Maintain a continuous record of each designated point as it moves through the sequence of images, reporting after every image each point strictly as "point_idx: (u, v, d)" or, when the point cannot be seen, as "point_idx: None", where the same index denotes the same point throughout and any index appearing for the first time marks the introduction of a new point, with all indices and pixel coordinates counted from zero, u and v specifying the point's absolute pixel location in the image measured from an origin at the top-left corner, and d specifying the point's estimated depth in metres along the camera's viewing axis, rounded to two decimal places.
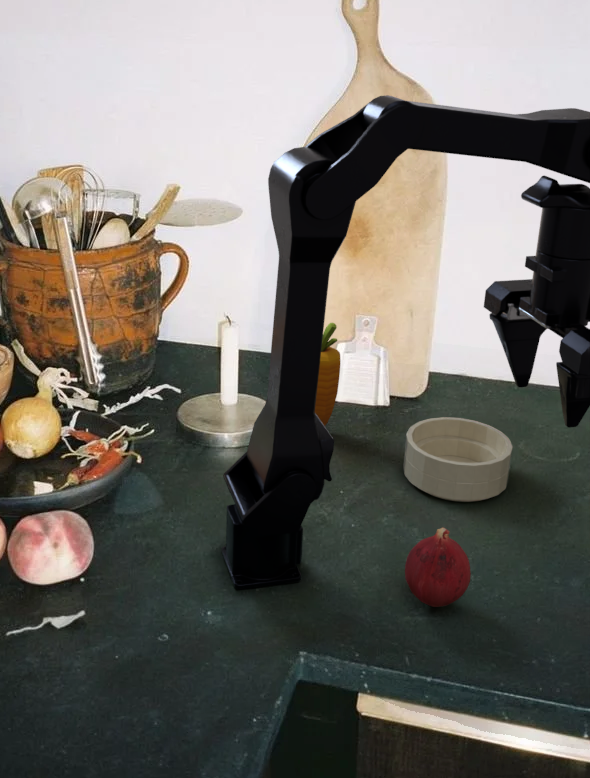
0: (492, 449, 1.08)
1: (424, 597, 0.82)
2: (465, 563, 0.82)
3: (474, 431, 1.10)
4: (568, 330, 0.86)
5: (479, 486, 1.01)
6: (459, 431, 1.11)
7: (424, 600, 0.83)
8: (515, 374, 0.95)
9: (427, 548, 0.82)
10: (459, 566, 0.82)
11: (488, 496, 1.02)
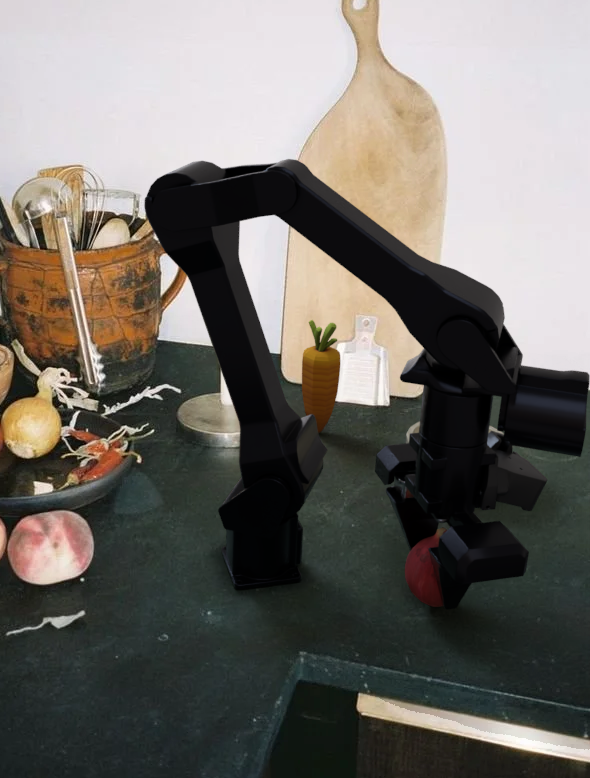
0: None
1: (424, 597, 0.82)
2: None
3: None
4: (452, 518, 0.79)
5: None
6: None
7: (424, 600, 0.83)
8: None
9: (427, 548, 0.82)
10: None
11: None
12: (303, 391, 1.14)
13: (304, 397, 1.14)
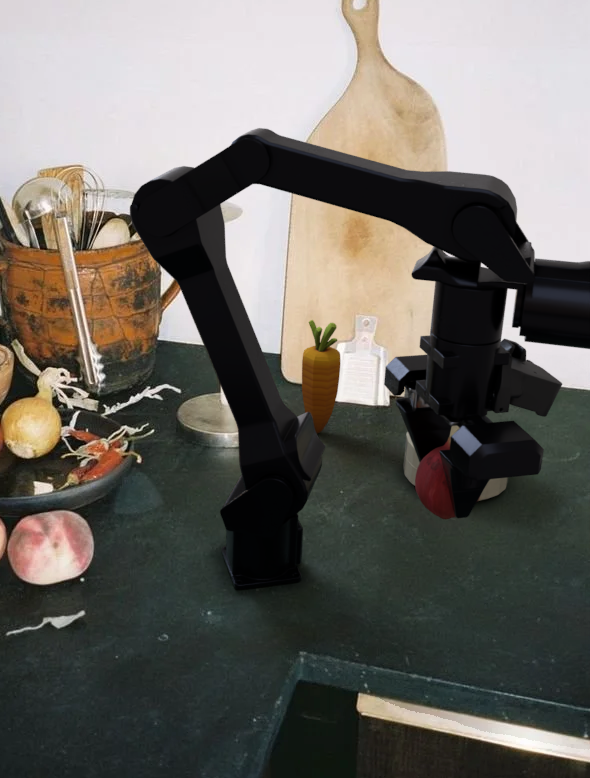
0: None
1: (435, 506, 0.80)
2: None
3: None
4: (464, 421, 0.77)
5: None
6: None
7: (435, 510, 0.80)
8: None
9: (438, 456, 0.80)
10: None
11: (488, 496, 1.02)
12: (303, 391, 1.14)
13: (304, 397, 1.14)
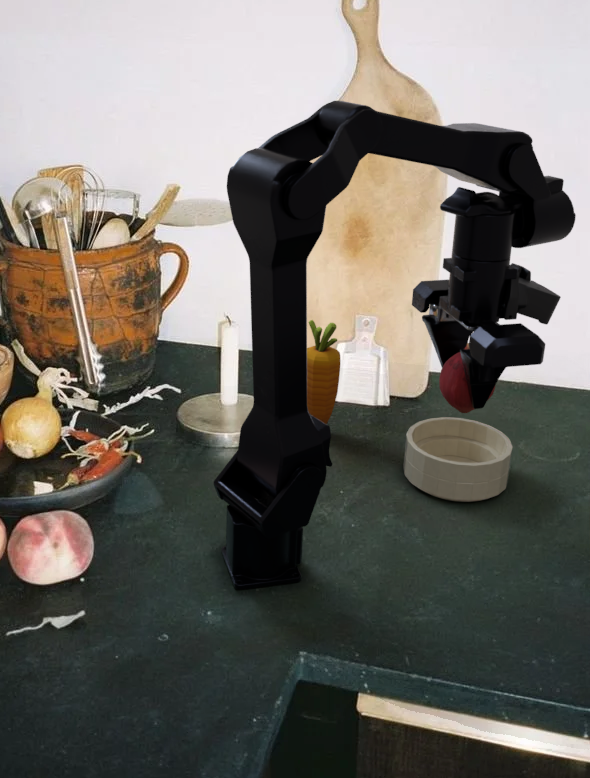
0: (492, 449, 1.08)
1: (456, 399, 0.97)
2: None
3: (474, 431, 1.10)
4: (480, 326, 0.94)
5: (479, 486, 1.01)
6: (459, 431, 1.11)
7: (456, 403, 0.97)
8: None
9: (458, 358, 0.97)
10: None
11: (488, 496, 1.02)
12: None
13: None
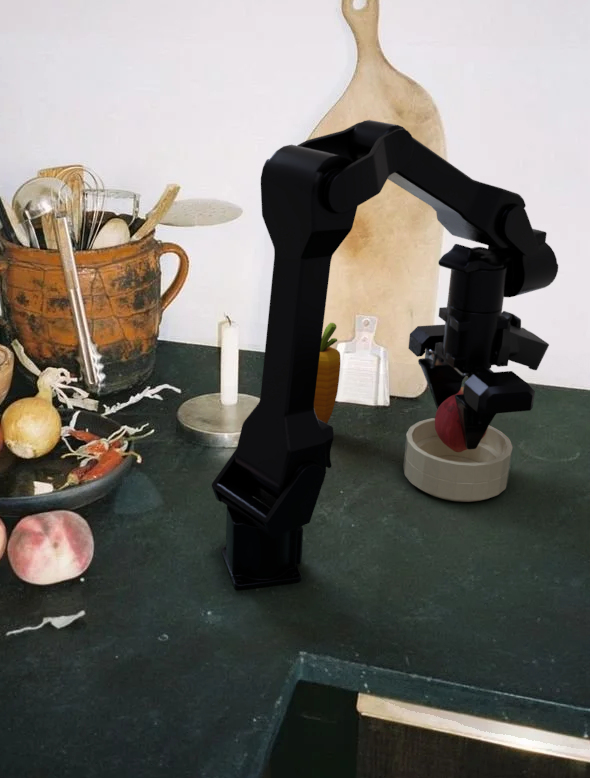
0: (492, 449, 1.08)
1: (450, 440, 1.03)
2: None
3: None
4: (474, 372, 0.99)
5: (479, 486, 1.01)
6: None
7: (450, 443, 1.03)
8: None
9: (453, 401, 1.03)
10: None
11: (488, 496, 1.02)
12: None
13: None
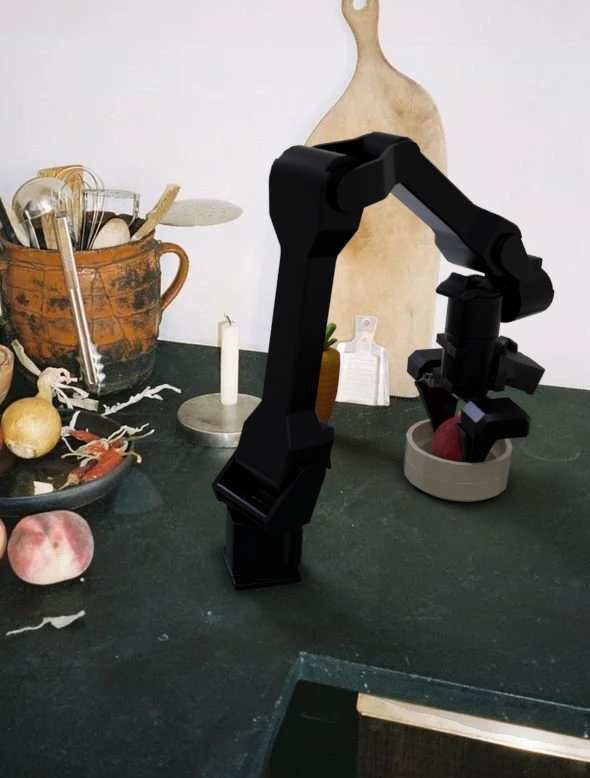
0: (492, 449, 1.08)
1: None
2: None
3: None
4: (471, 398, 1.01)
5: (479, 486, 1.01)
6: None
7: None
8: None
9: (450, 425, 1.04)
10: None
11: (488, 496, 1.02)
12: None
13: None
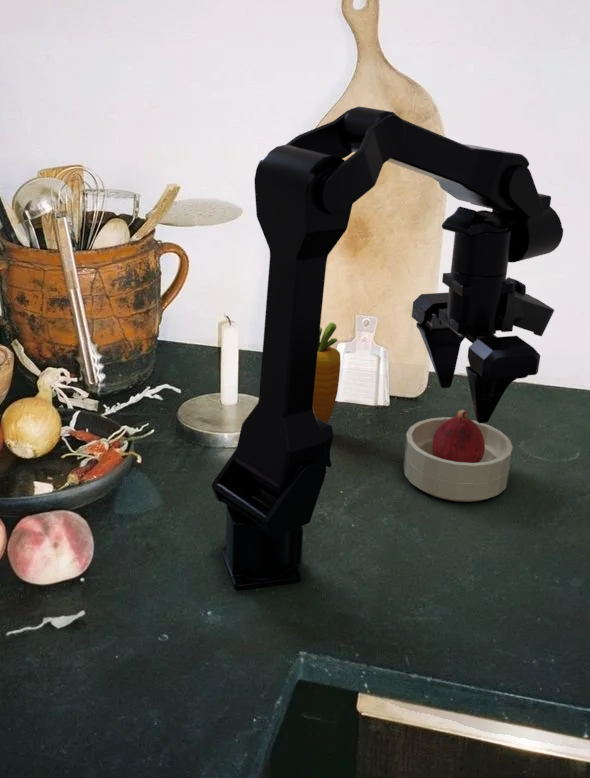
0: (492, 449, 1.08)
1: None
2: (481, 437, 1.04)
3: None
4: (478, 338, 0.98)
5: (479, 486, 1.01)
6: None
7: None
8: (439, 376, 1.07)
9: (450, 425, 1.04)
10: (476, 438, 1.03)
11: (488, 496, 1.02)
12: None
13: None
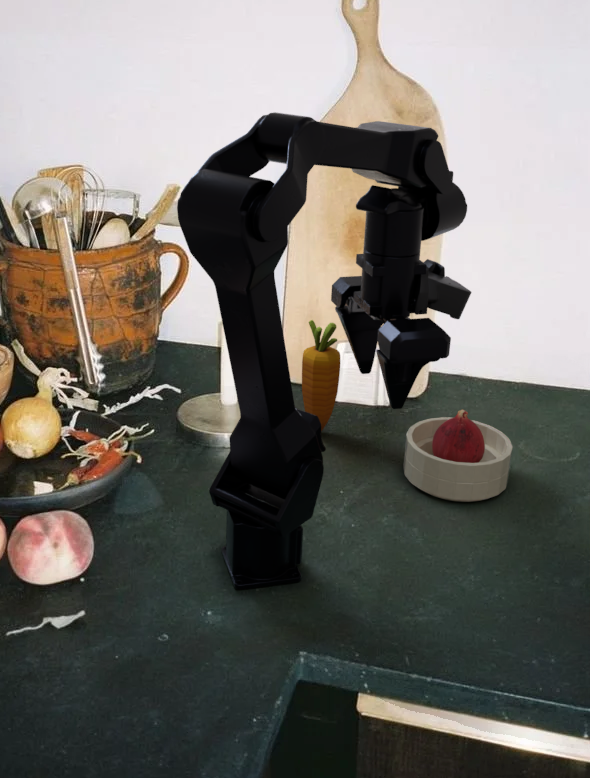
0: (492, 449, 1.08)
1: None
2: (481, 437, 1.04)
3: None
4: None
5: (479, 486, 1.01)
6: None
7: None
8: (358, 362, 1.04)
9: (450, 425, 1.04)
10: (476, 438, 1.03)
11: (488, 496, 1.02)
12: (303, 391, 1.14)
13: (304, 397, 1.14)
